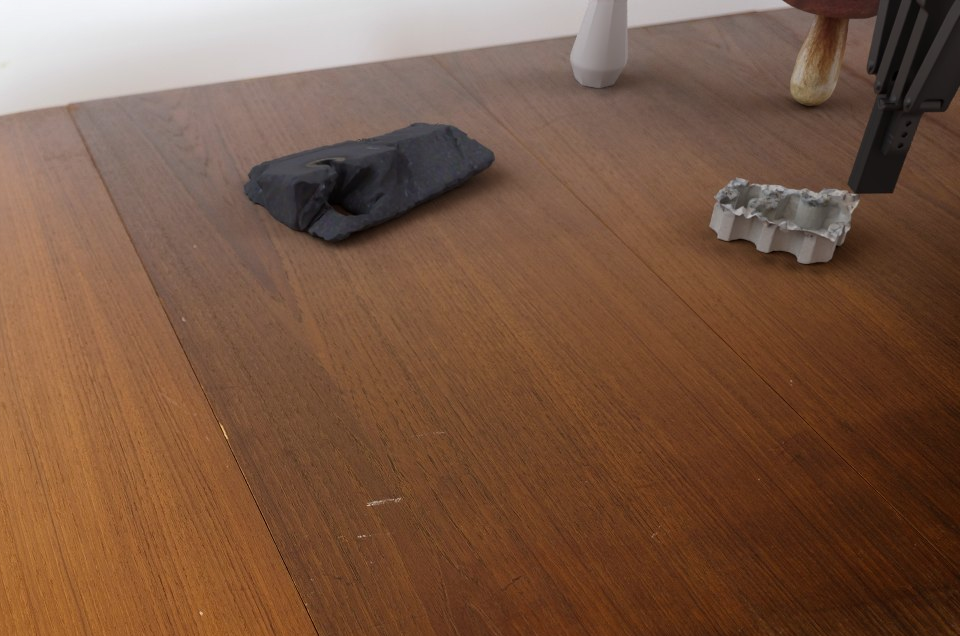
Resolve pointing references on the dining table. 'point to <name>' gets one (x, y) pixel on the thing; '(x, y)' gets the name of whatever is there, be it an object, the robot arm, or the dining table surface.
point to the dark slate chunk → (366, 178)
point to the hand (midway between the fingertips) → (869, 188)
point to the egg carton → (784, 218)
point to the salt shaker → (601, 44)
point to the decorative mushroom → (824, 46)
